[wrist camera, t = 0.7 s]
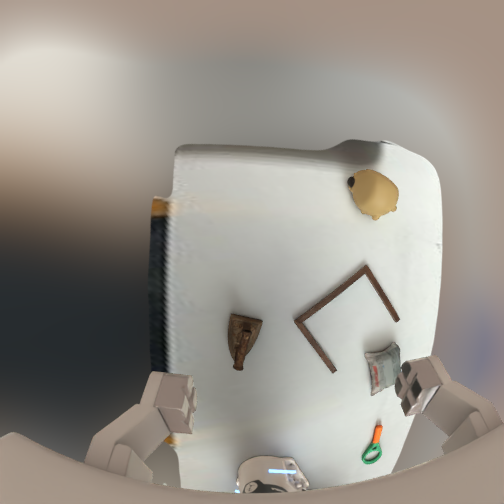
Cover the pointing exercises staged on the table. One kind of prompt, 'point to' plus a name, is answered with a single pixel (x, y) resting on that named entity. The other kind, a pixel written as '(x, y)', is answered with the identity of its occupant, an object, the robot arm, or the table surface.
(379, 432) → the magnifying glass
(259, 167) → the table surface
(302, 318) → the bay
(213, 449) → the table surface
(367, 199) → the toy pig
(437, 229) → the table surface
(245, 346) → the clothes iron
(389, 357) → the packaged food
